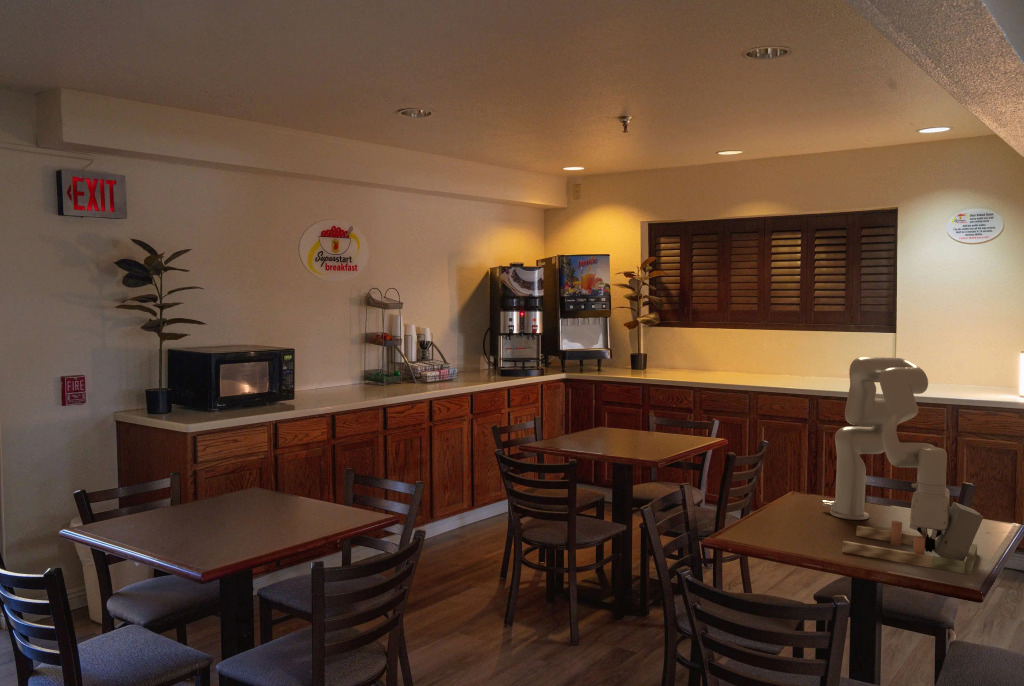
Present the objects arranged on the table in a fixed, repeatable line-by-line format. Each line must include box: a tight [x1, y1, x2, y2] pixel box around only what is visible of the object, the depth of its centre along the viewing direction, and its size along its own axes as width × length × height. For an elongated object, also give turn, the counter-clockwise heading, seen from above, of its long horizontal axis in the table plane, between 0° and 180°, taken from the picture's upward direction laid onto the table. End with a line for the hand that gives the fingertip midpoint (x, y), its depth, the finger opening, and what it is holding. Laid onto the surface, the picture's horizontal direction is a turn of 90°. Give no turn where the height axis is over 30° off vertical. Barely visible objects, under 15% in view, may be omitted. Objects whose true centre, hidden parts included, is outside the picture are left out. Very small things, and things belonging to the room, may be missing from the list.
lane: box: [841, 525, 978, 576], centre depth 241 cm, size 34×23×3 cm
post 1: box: [890, 520, 903, 547], centre depth 249 cm, size 3×3×7 cm
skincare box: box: [932, 501, 984, 561], centre depth 233 cm, size 8×7×16 cm
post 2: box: [912, 535, 926, 555], centre depth 232 cm, size 3×3×7 cm
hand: (928, 550), depth 237 cm, fingers closed
